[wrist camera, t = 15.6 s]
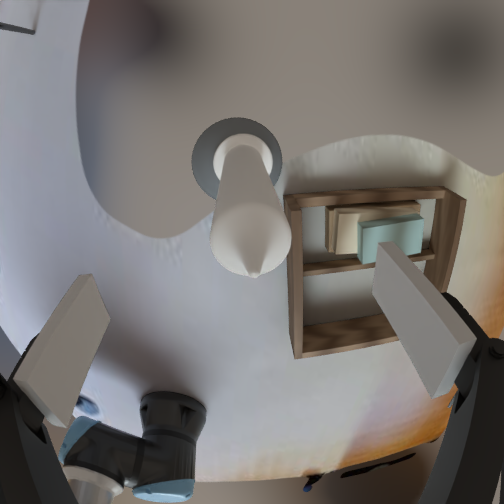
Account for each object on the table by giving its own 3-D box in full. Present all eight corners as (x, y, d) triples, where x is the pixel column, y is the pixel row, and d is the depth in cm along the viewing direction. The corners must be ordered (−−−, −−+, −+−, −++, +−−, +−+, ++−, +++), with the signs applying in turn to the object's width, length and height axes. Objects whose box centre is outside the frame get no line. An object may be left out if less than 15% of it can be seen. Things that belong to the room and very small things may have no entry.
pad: (199, 207, 39) (198, 209, 38) (186, 124, 33) (185, 124, 33) (284, 198, 39) (284, 200, 38) (277, 113, 33) (278, 113, 33)
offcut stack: (325, 245, 42) (337, 267, 37) (325, 203, 39) (338, 220, 34) (409, 236, 42) (428, 255, 37) (414, 197, 39) (435, 213, 34)
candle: (277, 181, 37) (337, 313, 15) (222, 195, 37) (206, 343, 15) (264, 127, 34) (318, 181, 12) (206, 142, 34) (151, 225, 12)
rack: (289, 333, 50) (294, 359, 44) (283, 194, 38) (290, 211, 33) (419, 310, 50) (433, 331, 44) (443, 186, 38) (466, 199, 33)
